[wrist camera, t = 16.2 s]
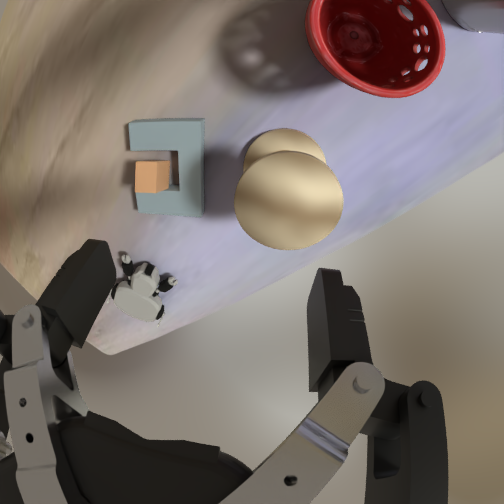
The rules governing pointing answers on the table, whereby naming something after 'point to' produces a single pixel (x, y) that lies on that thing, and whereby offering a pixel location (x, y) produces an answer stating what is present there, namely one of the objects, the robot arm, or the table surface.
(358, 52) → the plant pot
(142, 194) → the notched board
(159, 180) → the block
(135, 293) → the robot toy
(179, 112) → the table surface
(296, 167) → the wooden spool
